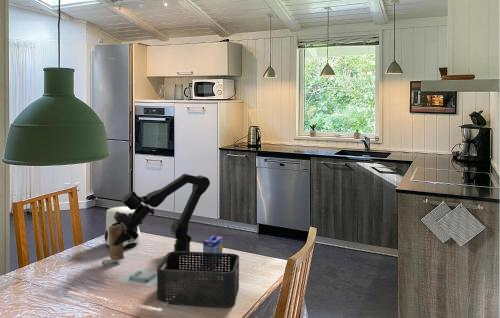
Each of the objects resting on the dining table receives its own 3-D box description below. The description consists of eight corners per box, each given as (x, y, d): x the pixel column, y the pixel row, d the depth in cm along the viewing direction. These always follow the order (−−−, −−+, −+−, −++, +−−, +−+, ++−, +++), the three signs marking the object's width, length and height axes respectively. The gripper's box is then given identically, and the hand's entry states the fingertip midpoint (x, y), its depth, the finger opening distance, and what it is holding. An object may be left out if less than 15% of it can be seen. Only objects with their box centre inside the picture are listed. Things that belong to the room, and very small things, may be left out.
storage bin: (154, 304, 145) (154, 268, 144) (169, 281, 165) (169, 249, 163) (233, 309, 143) (234, 272, 142) (239, 286, 162) (240, 253, 161)
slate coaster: (125, 258, 189) (125, 256, 189) (130, 265, 180) (130, 264, 180) (102, 261, 184) (102, 260, 184) (107, 269, 175) (107, 267, 175)
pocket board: (138, 270, 175) (138, 266, 174) (167, 275, 170) (167, 270, 170) (118, 283, 161) (118, 278, 161) (149, 288, 157) (149, 283, 157)
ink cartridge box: (213, 270, 178) (213, 237, 176) (201, 267, 180) (202, 235, 178) (222, 262, 187) (223, 231, 185) (212, 260, 189) (212, 230, 187)
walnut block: (121, 254, 185) (120, 224, 183) (123, 258, 181) (122, 227, 179) (109, 256, 183) (108, 226, 181) (112, 260, 178) (110, 229, 176)
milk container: (113, 238, 217) (113, 205, 214) (145, 240, 215) (145, 206, 213) (98, 249, 199) (97, 213, 197) (132, 251, 198) (132, 215, 196)
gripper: (120, 200, 189) (95, 227, 185) (130, 209, 173) (103, 238, 169) (137, 215, 194) (113, 241, 189) (148, 225, 178) (123, 254, 173)
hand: (113, 243), depth 180 cm, fingers closed on walnut block, 5 cm apart
